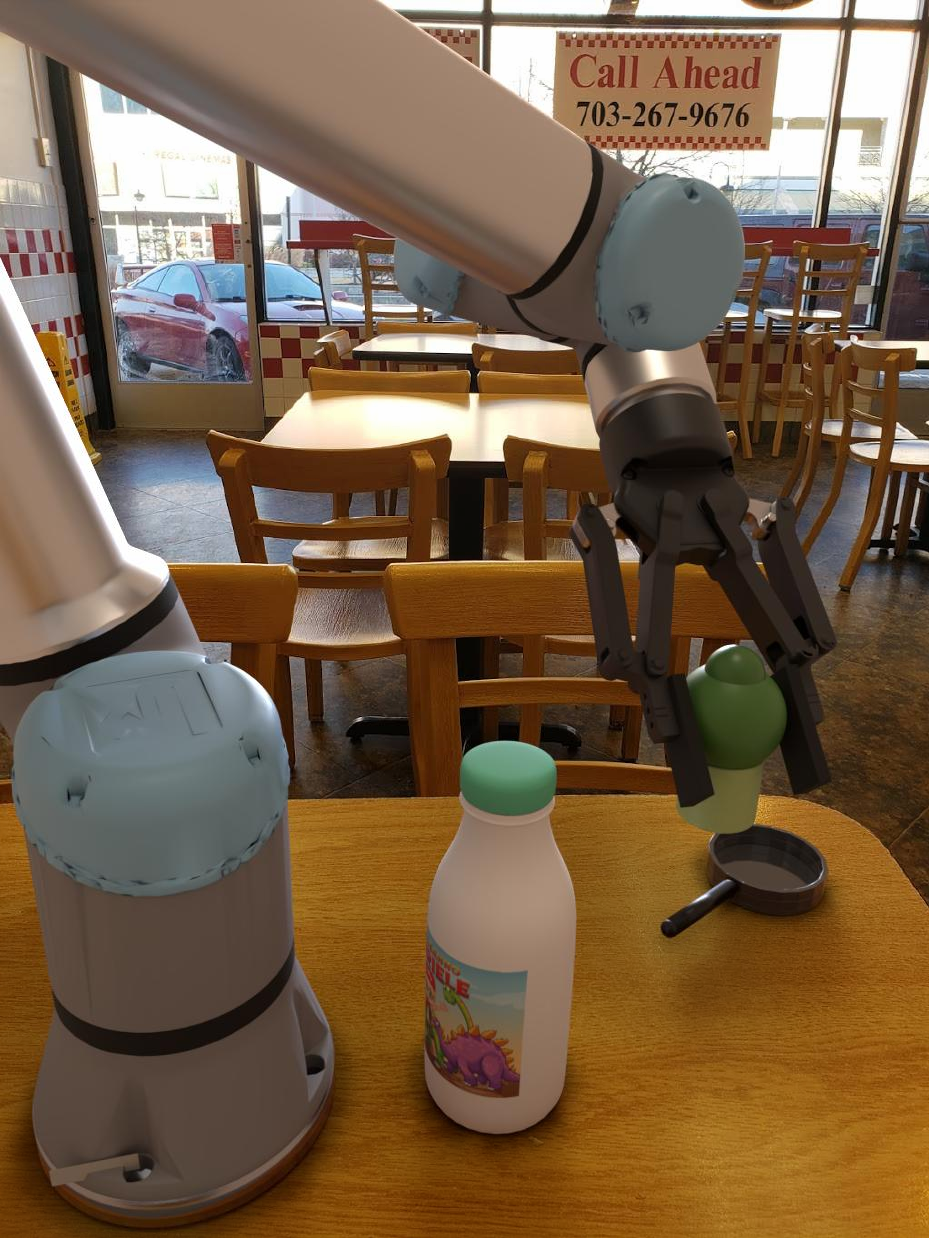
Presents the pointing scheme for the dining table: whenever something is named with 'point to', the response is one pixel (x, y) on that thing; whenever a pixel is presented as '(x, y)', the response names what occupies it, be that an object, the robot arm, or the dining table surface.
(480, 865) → the milk bottle
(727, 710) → the broccoli
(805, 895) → the pan
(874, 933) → the dining table surface
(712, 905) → the pan handle
